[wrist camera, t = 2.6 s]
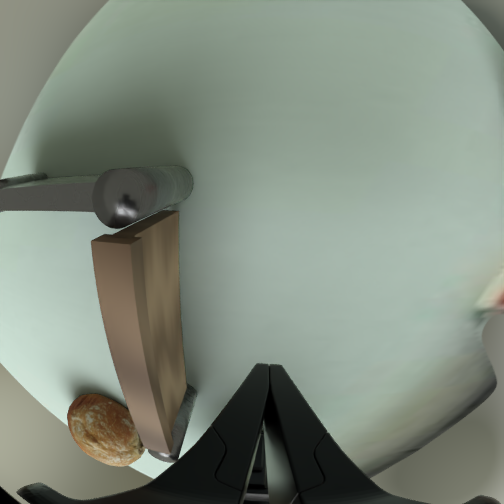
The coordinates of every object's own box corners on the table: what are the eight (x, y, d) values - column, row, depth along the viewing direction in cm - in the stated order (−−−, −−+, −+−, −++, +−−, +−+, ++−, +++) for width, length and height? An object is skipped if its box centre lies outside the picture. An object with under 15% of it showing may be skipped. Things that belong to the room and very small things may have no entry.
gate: (191, 388, 20) (170, 454, 13) (170, 384, 20) (144, 448, 13) (185, 211, 15) (130, 244, 9) (156, 209, 15) (91, 240, 9)
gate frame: (197, 401, 21) (179, 465, 14) (70, 366, 22) (36, 408, 15) (194, 166, 15) (141, 168, 8) (33, 173, 16) (-32, 186, 9)
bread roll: (158, 425, 29) (168, 472, 21) (94, 438, 25) (94, 482, 18) (125, 372, 26) (125, 423, 18) (55, 388, 22) (43, 434, 15)
